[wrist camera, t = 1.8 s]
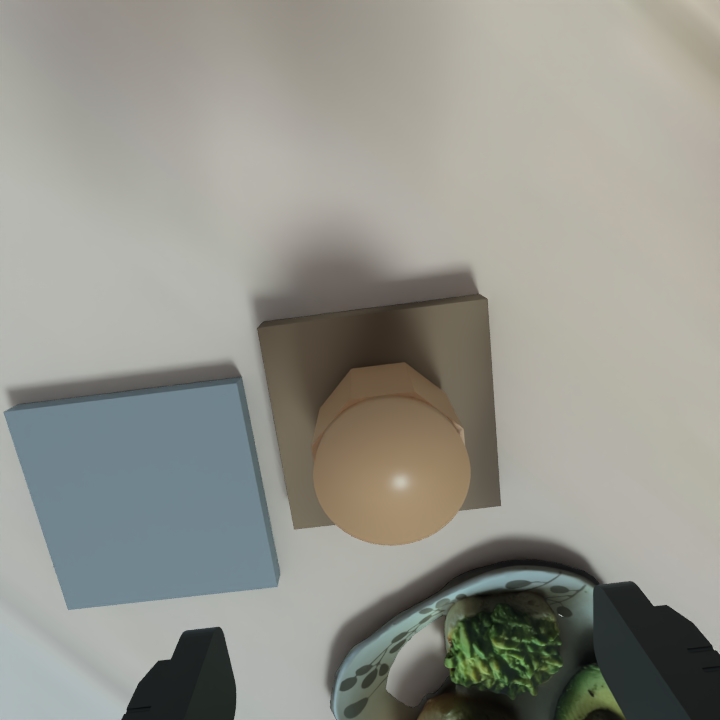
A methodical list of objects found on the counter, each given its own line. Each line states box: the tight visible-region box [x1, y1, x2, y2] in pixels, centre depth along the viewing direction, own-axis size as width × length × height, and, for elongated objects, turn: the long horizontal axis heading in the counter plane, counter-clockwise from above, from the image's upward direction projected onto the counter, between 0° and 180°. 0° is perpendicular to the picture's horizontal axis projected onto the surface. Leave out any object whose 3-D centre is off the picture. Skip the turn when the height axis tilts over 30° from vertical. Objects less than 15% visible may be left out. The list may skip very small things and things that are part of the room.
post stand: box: [257, 294, 501, 529], centre depth 22 cm, size 10×10×6 cm
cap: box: [311, 362, 471, 545], centre depth 20 cm, size 6×6×5 cm
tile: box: [4, 377, 280, 610], centre depth 25 cm, size 11×11×1 cm
